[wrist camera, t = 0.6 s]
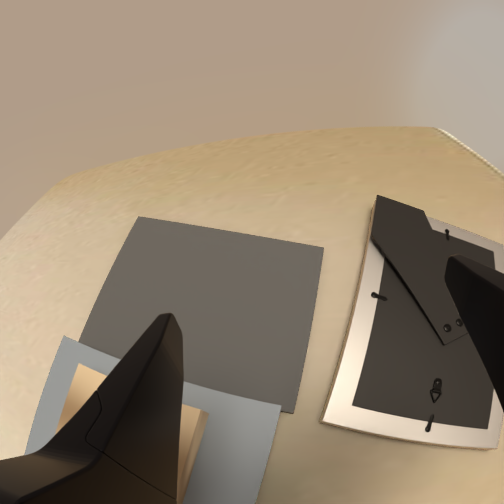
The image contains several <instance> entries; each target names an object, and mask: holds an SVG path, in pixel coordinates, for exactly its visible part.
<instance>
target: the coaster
mask: <svg viewBox="0 0 504 504" xmlns="http://www.w3.org/2000/svg"><path fill="white" fill-rule="evenodd" d="M106 377H107V376H106V375H104V374H102V373H99V372H97V371H95V370H93V369H90V368H88V367H86V366H84V365H82V364H80V363H79V364H78V366H77V369H76V372H75V375H74V377H73V380H72V383H71V386H70V389H69V392H68V395H67V397H66V400H65V404H64V407H63V410H62V413H61V416H60V419H59V423H58V426H57V429H56V433H57V432H58V431H59V430H60V429H61V428H62V427H63V426H64V425H65V424H66V423H67V422H68V421H69V420H70V419H71V418H72V417H73V416H74V415H75V414H76V412H77V411H78V410H79V409H80V408H81V407H82V406H83V405H84V403H85V402H86V401H87V400H88V399H89V397H90V396H91V395H92V394H93V393H94V391H95V390H97V388H98V387H99V385H100V384H101V383H102V382H103V381H104V379H105V378H106ZM208 415H209V413H207V412H205V411H203V410H201V409H197V408H194V407H191V406H187V405H184V404H182V410H181V424H180V440H179V458H178V480H177V504H183V500H184V497H185V494H186V490H187V487H188V483H189V480H190V477H191V473H192V470H193V466H194V463H195V460H196V456H197V453H198V449H199V446H200V443H201V439H202V436H203V432H204V429H205V426H206V422H207V419H208ZM56 433H55V434H56Z"/></svg>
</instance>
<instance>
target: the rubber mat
mask: <svg viewBox="0 0 504 504" xmlns="http://www.w3.org/2000/svg"><path fill="white" fill-rule="evenodd" d="M323 250H324V248H323V247H317V246H312V245H306V244H301V243H295V242H289V241H284V240H278V239H272V238H266V237H261V236H255V235H249V234H243V233H237V232H231V231H225V230H220V229H214V228H208V227H201V226H195V225H189V224H183V223H177V222H171V221H165V220H158V219H152V218H146V217H139V216H138V218H137V220H136V222H135V224H134V226H133V227H132V229H131V231H130V233H129V235H128V237H127V239H126V240H125V242H124V244H123V246H122V248H121V250H120V252H119V254H118V256H117V258H116V260H115V262H114V264H113V266H112V268H111V270H110V272H109V274H108V276H107V278H106V280H105V282H104V284H103V287H102V289H101V291H100V293H99V295H98V297H97V300H96V302H95V304H94V306H93V308H92V311H91V313H90V315H89V318H88V320H87V322H86V325H85V327H84V329H83V332H82V334H81V337H80V339H79V343H81V344H84V345H86V346H88V347H91V348H93V349H95V350H98V351H100V352H103V353H105V354H108V355H110V356H113V357H115V358H118V359H120V360H121V359H122V358H123V356H124V355H125V354H126V353H127V352H128V351H129V349H130V348H131V347H132V346H133V345H134V343H135V342H136V341H137V340H138V339H139V338H140V336H141V335H142V334H143V333H144V332H145V330H146V329H147V328H148V327H149V326H150V325H151V323H152V322H153V321H154V320H155V319H156V318H157V316H158V315H160V314H163V313H173V315H174V316H175V318H176V320H177V322H178V325H179V327H180V329H181V331H182V335H183V365H184V381H185V382H188V383H191V384H195V385H198V386H202V387H205V388H209V389H212V390H216V391H220V392H224V393H227V394H231V395H235V396H240V397H244V398H248V399H252V400H257V401H261V402H266V403H271V404H276V405H281V410H280V411H281V412H287V413H292V414H293V413H294V409H295V404H296V400H297V396H298V391H299V386H300V382H301V377H302V372H303V367H304V362H305V357H306V352H307V347H308V342H309V336H310V331H311V325H312V320H313V314H314V308H315V302H316V296H317V290H318V284H319V277H320V271H321V264H322V257H323Z"/></svg>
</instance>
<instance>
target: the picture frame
mask: <svg viewBox="0 0 504 504" xmlns="http://www.w3.org/2000/svg"><path fill="white" fill-rule="evenodd" d="M455 254H461V255H463V256H465V257H468V258H470V259H472V260H475V261H477V262H479V263H482V264H484V265H486V266H488V267H490V268H493V269H495V270H497V271H499V272H501V273H504V246H503V245H502V244H500V243H497V242H495V241H492V240H490V239H487V238H485V237H482V236H480V235H477V234H474V233H472V232H469V231H466V230H464V229H461V228H458V227H456V226H453V225H450V224H447V223H444V222H442V221H439V220H436V219H433V218H430V217H427V216H426V215H425V213H424V211H423V210H420V209H417V208H414V207H412V206H409V205H406V204H403V203H400V202H397V201H395V200H392V199H389V198H386V197H383V196H380V195H377V198H376V200H375V203H374V205H373V208H372V213H371V219H370V225H369V231H368V237H367V242H366V248H365V253H364V258H363V263H362V268H361V273H360V277H359V282H358V287H357V291H356V295H355V300H354V304H353V308H352V312H351V316H350V320H349V324H348V328H347V332H346V336H345V339H344V343H343V347H342V350H341V354H340V357H339V361H338V364H337V368H336V371H335V374H334V378H333V381H332V384H331V387H330V391H329V394H328V397H327V400H326V403H325V406H324V409H323V412H322V415H321V418H320V421H319V422H320V423H324V424H328V425H332V426H336V427H340V428H344V429H348V430H352V431H356V432H361V433H365V434H370V435H375V436H380V437H385V438H391V439H396V440H402V441H408V442H414V443H421V444H428V445H436V446H445V447H454V448H465V449H480V450H492V449H497V447H498V442H499V438H500V432H501V427H502V421H503V415H504V412H503V410H502V407H501V404H500V402H499V399H498V397H497V394H496V392H495V389H494V387H493V385H492V382H491V380H490V378H489V375H488V373H487V371H486V369H485V367H484V364H483V362H482V360H481V358H480V356H479V354H478V352H477V350H476V348H475V346H474V344H473V342H472V340H471V338H470V336H469V334H468V332H467V330H466V328H465V326H464V324H463V322H462V320H461V318H460V316H459V314H458V311H457V309H456V306H455V304H454V302H453V300H452V297H451V295H450V293H449V291H448V288H447V286H446V284H445V281H444V274H445V269H446V264H447V259H448V257H449V256H451V255H455Z"/></svg>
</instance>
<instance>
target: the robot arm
mask: <svg viewBox="0 0 504 504" xmlns="http://www.w3.org/2000/svg"><path fill="white" fill-rule="evenodd" d="M444 281H445V284H446V286H447V288H448V291H449V293H450V295H451V297H452V300H453V302H454V304H455V306H456V309H457V311H458V314H459V316H460V318H461V320H462V322H463V324H464V326H465V328H466V330H467V332H468V334H469V336H470V338H471V340H472V342H473V344H474V346H475V348H476V350H477V352H478V354H479V356H480V358H481V360H482V362H483V364H484V367H485V369H486V371H487V373H488V375H489V378H490V380H491V382H492V385H493V387H494V389H495V392H496V394H497V397H498V399H499V402H500V404H501V407H502V410H503V412H504V273H501V272H499V271H497V270H495V269H493V268H490V267H488V266H486V265H484V264H482V263H479V262H477V261H475V260H472V259H470V258H468V257H465V256H463V255H461V254H455V255H451V256H449V257H448V259H447V264H446V269H445V274H444ZM183 385H184V365H183V335H182V331H181V329H180V327H179V325H178V322H177V320H176V318H175V316H174V315H173V313H163V314H160V315H158V316H157V318H156V319H155V320H154V321H153V322H152V323H151V325H150V326H149V327H148V328H147V329H146V330H145V332H144V333H143V334H142V335H141V336H140V338H139V339H138V340H137V341H136V342H135V343H134V345H133V346H132V347H131V348H130V349H129V351H128V352H127V353H126V354H125V355H124V356H123V358H122V359H121V360H120V361H119V362H118V364H117V365H116V366H115V367H114V368H113V370H112V371H111V372H110V373H109V374H108V376H107V377H106V378H105V379H104V381H103V382H102V383H101V384H100V385H99V387H98V388H97V390H95V391H94V393H93V394H92V395H91V396H90V397H89V399H88V400H87V401H86V402H85V403H84V405H83V406H82V407H81V408H80V409H79V410H78V411H77V412H76V414H75V415H74V416H73V417H72V418H71V419H70V420H69V421H68V422H67V423H66V424H65V425H64V426H63V427H62V428H61V429H60V430H59V431H58V432H57V433H56V434H55V435H54V436H53V438H52V439H51V440H50V441H49V442H48V443H47V444H46V445H45V446H43V447H42V448H41V449H39V450H38V451H36V452H34V453H31V454H28V455H23V456H19V457H14V458H9V459H4V460H0V504H177V480H178V458H179V440H180V424H181V410H182V397H183Z"/></svg>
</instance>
